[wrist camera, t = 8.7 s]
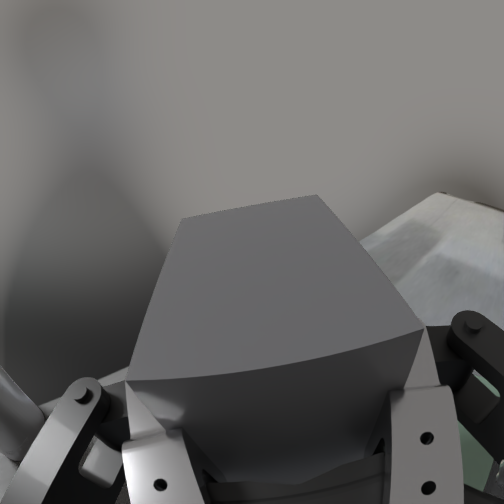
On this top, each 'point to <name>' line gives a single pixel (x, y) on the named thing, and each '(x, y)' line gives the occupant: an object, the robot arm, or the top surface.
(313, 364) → the dark grey rectangular block
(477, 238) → the top surface
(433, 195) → the top surface
